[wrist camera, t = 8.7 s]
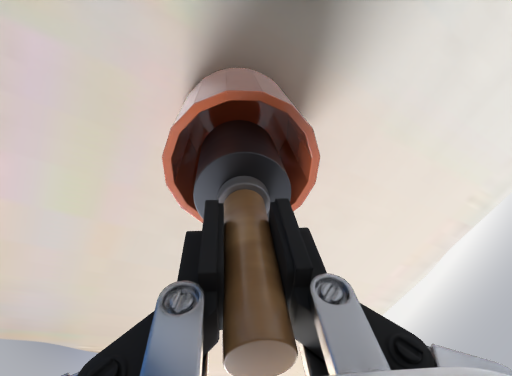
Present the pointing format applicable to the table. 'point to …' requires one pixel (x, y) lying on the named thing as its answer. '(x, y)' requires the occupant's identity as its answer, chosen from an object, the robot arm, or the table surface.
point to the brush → (248, 246)
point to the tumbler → (239, 108)
